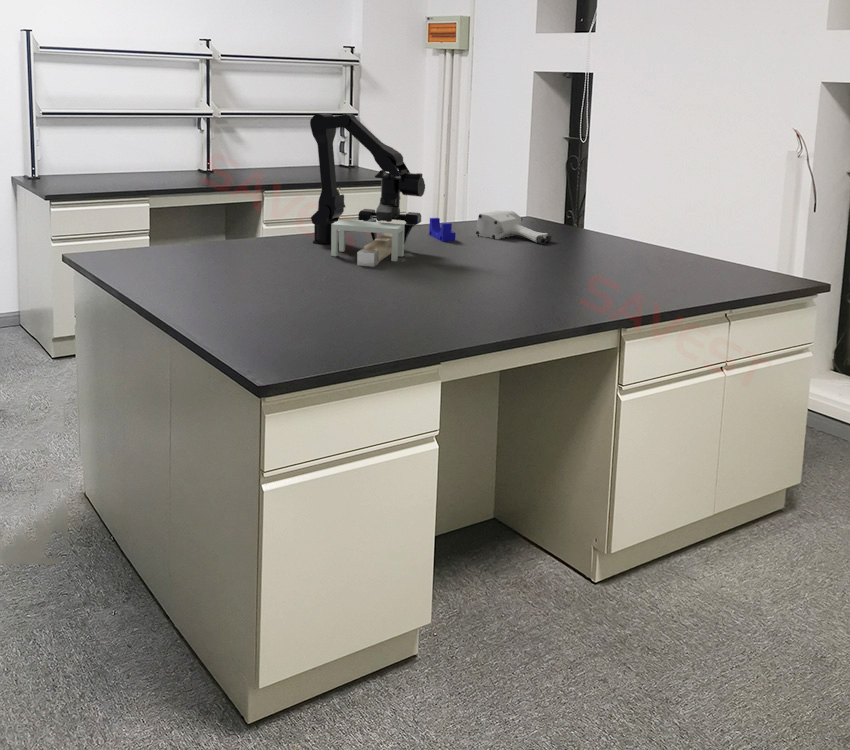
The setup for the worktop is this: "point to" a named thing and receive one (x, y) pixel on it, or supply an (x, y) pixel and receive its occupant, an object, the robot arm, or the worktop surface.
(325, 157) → the robot arm
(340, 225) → the small white table
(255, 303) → the worktop surface
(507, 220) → the impact wrench
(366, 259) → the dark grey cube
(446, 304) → the worktop surface
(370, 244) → the batten
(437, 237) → the cable clip
